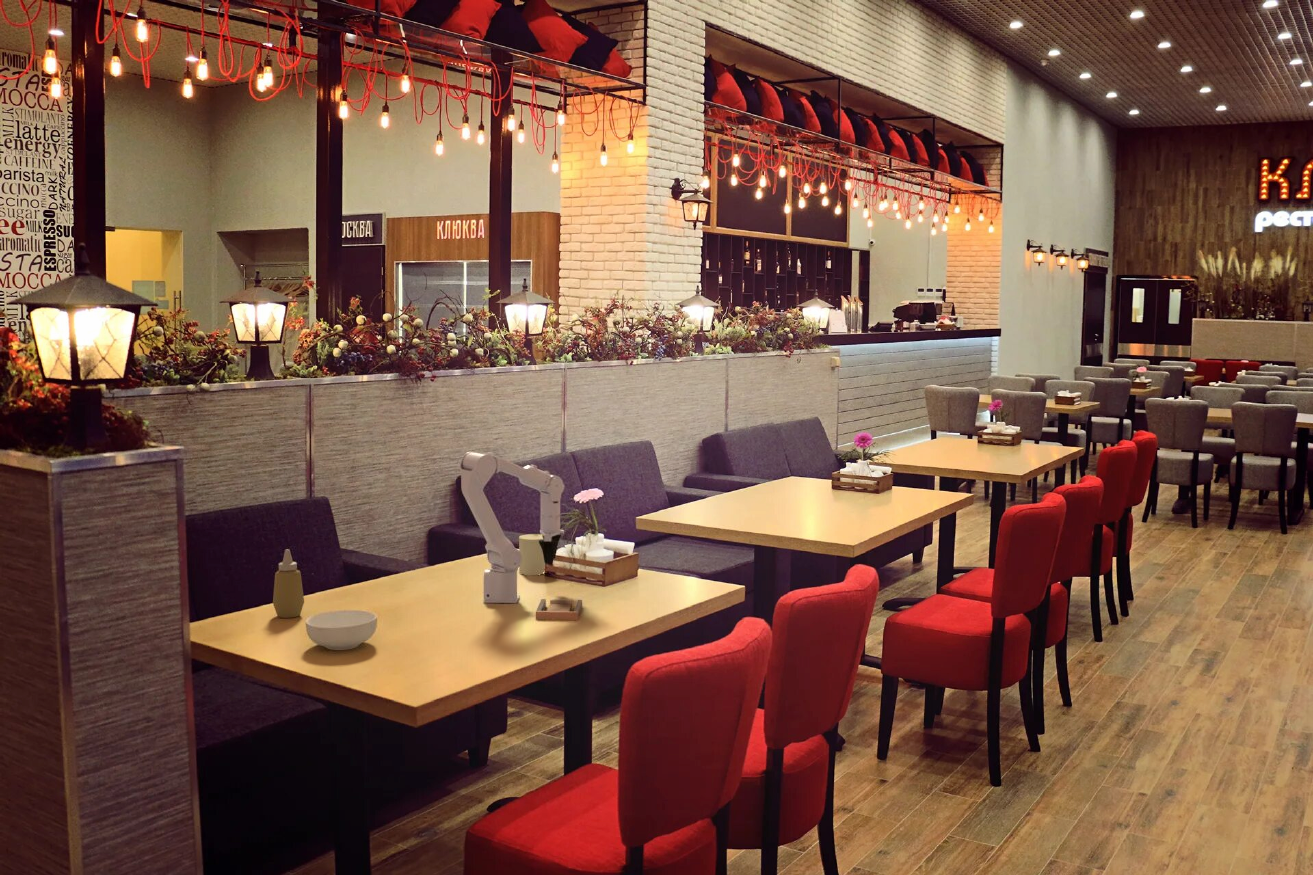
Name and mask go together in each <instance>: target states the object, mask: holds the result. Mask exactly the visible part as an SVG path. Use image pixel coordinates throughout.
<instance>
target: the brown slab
mask: <svg viewBox="0 0 1313 875" xmlns="http://www.w3.org/2000/svg"><path fill="white" fill-rule="evenodd" d="M572 607H573V600H572V599H557V598H556V599H551V598H550V600H549V605H548V608H547V610H546V611H571V610H572Z"/></svg>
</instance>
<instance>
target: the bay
mask: <svg viewBox="0 0 1313 875" xmlns="http://www.w3.org/2000/svg"><path fill="white" fill-rule="evenodd" d="M575 604H576V605H575V608H574V611H571V610H570V611H547V610H545V608H546V607H547V599H546V598H542V599H540V601H539V604H538V606H537V608H536V611H535V620H566V621H568V620H569V621H571V620H572V621H575V620H576V621H578V620H579V617H580V615H581V612H582V608H583V600H582V599H577V602H576V603H575Z"/></svg>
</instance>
